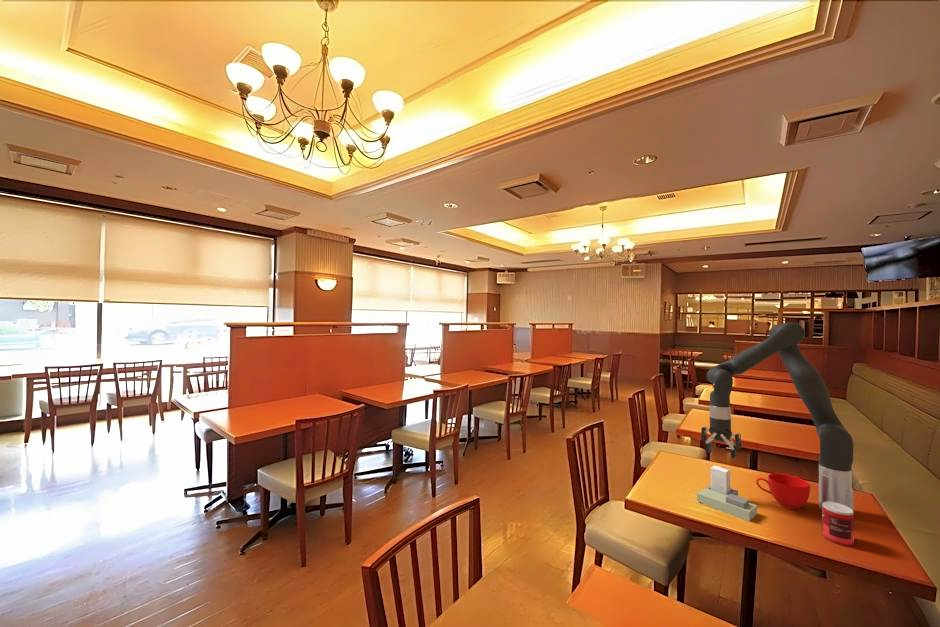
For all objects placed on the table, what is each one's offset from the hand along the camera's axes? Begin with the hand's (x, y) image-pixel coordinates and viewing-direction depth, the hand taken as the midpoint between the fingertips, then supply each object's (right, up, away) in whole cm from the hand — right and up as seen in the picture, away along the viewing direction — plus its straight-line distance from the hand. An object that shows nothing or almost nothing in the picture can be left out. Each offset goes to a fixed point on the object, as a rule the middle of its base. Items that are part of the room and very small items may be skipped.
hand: (720, 455), depth 159 cm
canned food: (+20, -18, -29) cm, 40 cm away
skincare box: (0, -18, 0) cm, 18 cm away
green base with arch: (0, -18, -6) cm, 19 cm away
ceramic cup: (+21, -18, -5) cm, 28 cm away
